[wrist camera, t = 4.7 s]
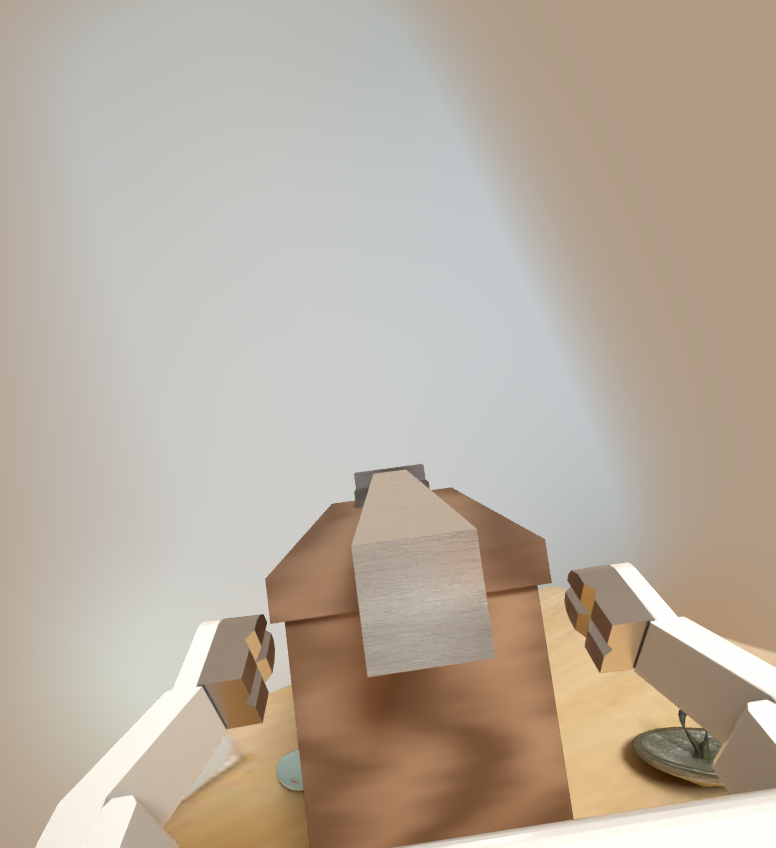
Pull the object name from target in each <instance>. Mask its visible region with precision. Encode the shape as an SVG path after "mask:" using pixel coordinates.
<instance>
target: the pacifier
mask: <svg viewBox="0 0 776 848" xmlns="http://www.w3.org/2000/svg"><path fill="white" fill-rule="evenodd" d="M296 738H297V741H298V736H297V730H296ZM276 772H277V777H278V779H279V781H280V782H281V783H282V784H283V785H284V786H285V787H287V788H289V789H291V790H295V791H301V790H303V781H302V772H301V763H300V754H299V749H298V750H295V751H293V752H291V753H289V754H287V755H285V756H284V757H282V758H281V759H280V761H279V762H278V764H277V766H276ZM295 782H297V783H295Z"/></svg>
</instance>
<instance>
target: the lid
mask: <svg viewBox="0 0 776 848" xmlns="http://www.w3.org/2000/svg"><path fill="white" fill-rule="evenodd" d="M678 715H679V719H680V722H681V724H682V726H683V727H669V728H660V729H655V730H651V731H647V732H644V733H642V734H640V735H638V736H637V737H636V738H635V739H634V741H633V744H632V746H633V749H634V751H635V753H636V754H637V755H638V756H639V757H640V758H641V759H642V760H644V761H645V762H647V763H649V764H650V765H652V766H653V767H655V768H657V769H659V770H661V771H663V772H666V773H668V774H671V775H673V776H676V777H679V778H682V779H685V780H688V781H690V782H693V783H695V784H697V785H700V786H705V787H710V786H724V785H723V783H722V782H721V780H720V779H719V777H718V776H717V774H716V773H715V771H714V770H713V762H714V759H715V757H716V756H717V754H718V752H719V751H720V749H721V747H722V746H723V744H722V743H721V742H720V741H718V740H717V739H716V738H715V737H714V736H712V735H711V734H710V733H709V732H707V731H706V730H705V729H704V728H685V717H686V715H687V714H686V713H684V712H683V711H682V710H679V714H678Z"/></svg>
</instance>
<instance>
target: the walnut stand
mask: <svg viewBox="0 0 776 848" xmlns="http://www.w3.org/2000/svg"><path fill="white" fill-rule="evenodd" d="M398 470H407V471H408V472H410V473H411V474H412V475H413V476H414V477H416V478H417V479H418V480H419V481H420V482H422V483H423V484H424V485H425V486H426V487H428V488H429V482H428V481H426V480H425V473H424V466H423V465H422V464H418V465H411V466H403V467H395V468H388V469H381V470H373V471H366V472H359V473H355V475H354V476H355V484H356V490H355V492H354V493H355V501H349V502H343V503H335V504H331V506H330V507H329V508H328V509H327V510H326V511H325V512H324V513H323V515H322V516H321V517H320V518H319V519H318V520H317V522H315V524H314V525H313V526H312V527H311V528H310V529H309V531H307V533H306V534H305V535H304V536H303V537H302V538H301V539H300V541H299V542H298V543H297V544H296V545H295V546H294V547H293V549H292V550H291V551H290V552H289V553H288V554H287V555H286V556H285V557H284V559H283V560H282V561H281V562H280V563H279V564H278V565H277V567H276V568H275V569H274V570H273V571H272V572H271V573H270V574H269V576H268V577H267V578H266V588H267V597H268V607H269V616H270V623H271V624H272V623H279V622H285V628H286V637H287V646H288V655H289V664H290V673H291V682H292V691H293V700H294V709H295V718H296V727H297V736H298V745H299V754H300V763H301V772H302V781H303V790H304V799H305V808H306V817H307V826H308V835H309V844H310V848H394V847H401V846H407V845H413V844H420V843H426V842H433V841H439V840H445V839H452V838H458V837H464V836H471V835H477V834H484V833H490V832H496V831H503V830H509V829H515V828H522V827H528V826H535V825H541V824H547V823H554V822H560V821H567V820H573V813H572V807H571V800H570V794H569V787H568V781H567V774H566V768H565V761H564V755H563V748H562V742H561V735H560V729H559V722H558V716H557V710H556V703H555V697H554V690H553V684H552V677H551V671H550V664H549V658H548V651H547V645H546V638H545V632H544V625H543V619H542V612H541V606H540V599H539V593H538V587H537V585H542V584H548V583H552V582H551V576H550V569H549V562H548V556H547V550H546V543H545V539H543V538H542V537H540V536H538V535H536V534H534V533H533V532H531V531H529V530H527V529H525V528H524V527H522V526H520V525H518V524H516V523H514V522H513V521H511V520H509V519H507V518H505V517H504V516H502V515H500V514H498V513H496V512H495V511H493V510H491V509H489V508H487V507H486V506H484V505H482V504H480V503H478V502H477V501H474V500H473V499H471V498H469V497H468V496H465V495H464V494H462V493H460V492H459V491H457V490H455V489H453V488H445V489H437V490H431V491H432V492H434V493H435V494H436V495H437V496H438V497H440V498H441V499H442V500H443V501H444V502H446V503H447V504H448V505H449V506H450V507H451V508H453V509H454V510H455V511H456V512H457V513H459V514H460V515H461V516H462V517H463V518H465V519H466V520H467V521H468V522H469V523H471V524H472V525H473V526H474V527H475V528H477V535H478V542H479V549H480V556H481V563H482V569H483V576H484V583H485V590H486V597H487V604H488V611H489V617H490V624H491V631H492V638H493V645H494V652H495V658H493V659H487V660H480V661H473V662H467V663H460V664H453V665H447V666H440V667H433V668H426V669H420V670H413V671H406V672H400V673H393V674H386V675H380V676H373V677H367V669H366V661H365V653H364V645H363V636H362V628H361V620H360V612H359V604H358V596H357V588H356V580H355V572H354V564H353V556H352V548H351V545H352V542H353V539H354V535H355V532H356V529H357V526H358V522H359V519H360V516H361V513H362V509H363V506H364V503H365V499H366V496H367V493H368V490H369V486H370V483H371V480H372V477H373V474H376V473H384V472H391V471H398Z"/></svg>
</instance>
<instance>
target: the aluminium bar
mask: <svg viewBox="0 0 776 848" xmlns="http://www.w3.org/2000/svg"><path fill="white" fill-rule="evenodd" d="M351 548H352V556H353V564H354V572H355V580H356V588H357V596H358V604H359V612H360V620H361V628H362V636H363V645H364V653H365V661H366V669H367V677H373V676H380V675H386V674H393V673H400V672H406V671H413V670H420V669H426V668H433V667H440V666H447V665H453V664H460V663H467V662H473V661H480V660H487V659H493V658H495V652H494V645H493V638H492V631H491V624H490V617H489V611H488V604H487V597H486V590H485V583H484V576H483V569H482V563H481V556H480V549H479V542H478V535H477V528H475V527H474V526H473V525H472V524H471V523H469V522H468V521H467V520H466V519H465V518H463V517H462V516H461V515H460V514H459V513H457V512H456V511H455V510H454V509H453V508H451V507H450V506H449V505H448V504H447V503H446V502H444V501H443V500H442V499H441V498H440V497H438V496H437V495H436V494H435V493H434V492H432V491H431V490H430V489H429V488H428V487H426V486H425V485H424V484H423V483H422V482H420V481H419V480H418V479H417V478H416V477H414V476H413V475H412V474H411V473H410V472H408V471H407V470H398V471H391V472H384V473H376V474H373V477H372V480H371V483H370V486H369V490H368V493H367V496H366V499H365V503H364V506H363V509H362V513H361V516H360V519H359V522H358V526H357V529H356V532H355V535H354V539H353V542H352V545H351Z"/></svg>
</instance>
